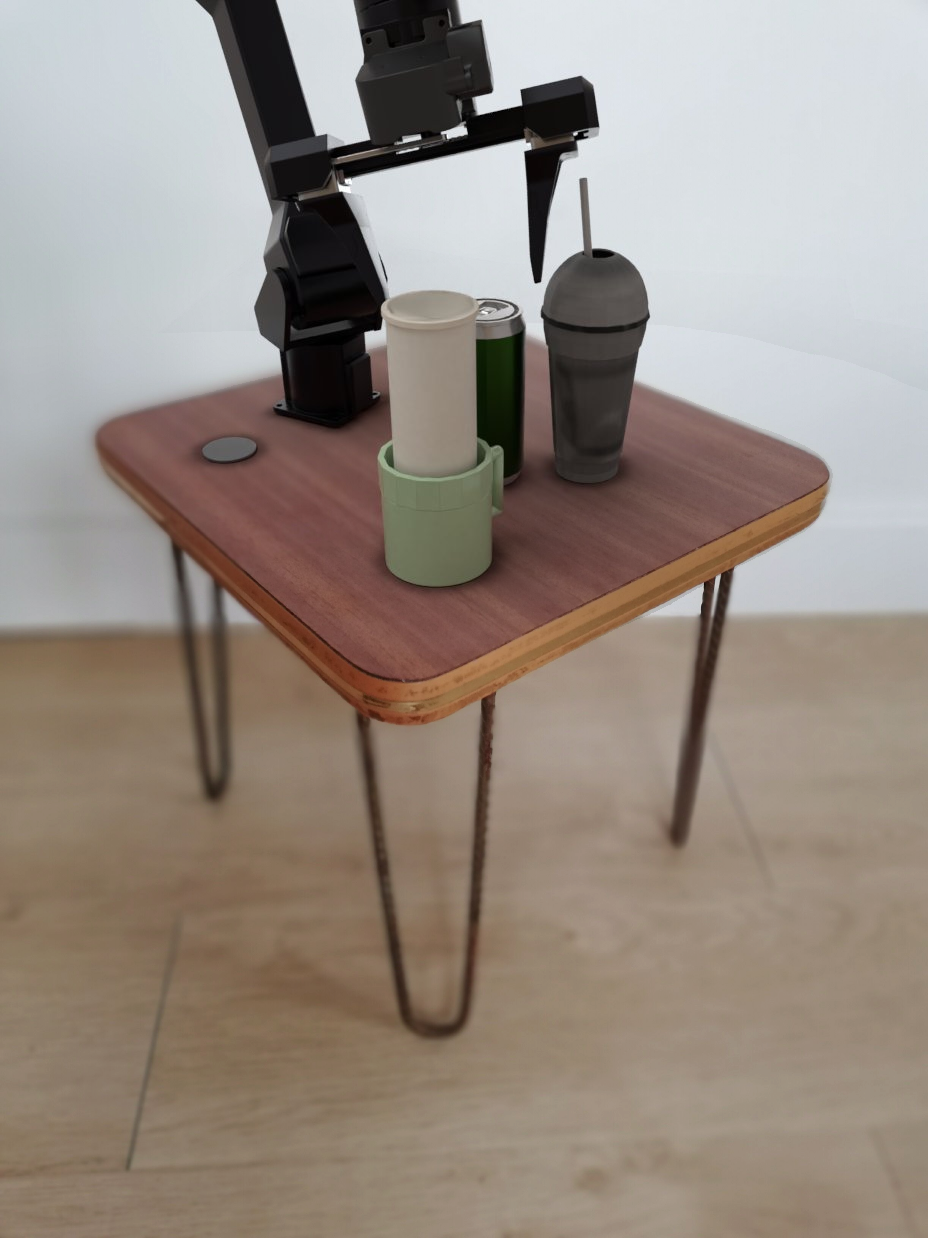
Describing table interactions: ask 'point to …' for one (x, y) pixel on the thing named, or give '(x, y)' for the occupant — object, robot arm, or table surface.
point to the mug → (440, 519)
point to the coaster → (229, 450)
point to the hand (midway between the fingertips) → (461, 298)
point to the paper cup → (432, 382)
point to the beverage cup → (592, 354)
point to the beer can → (501, 380)
